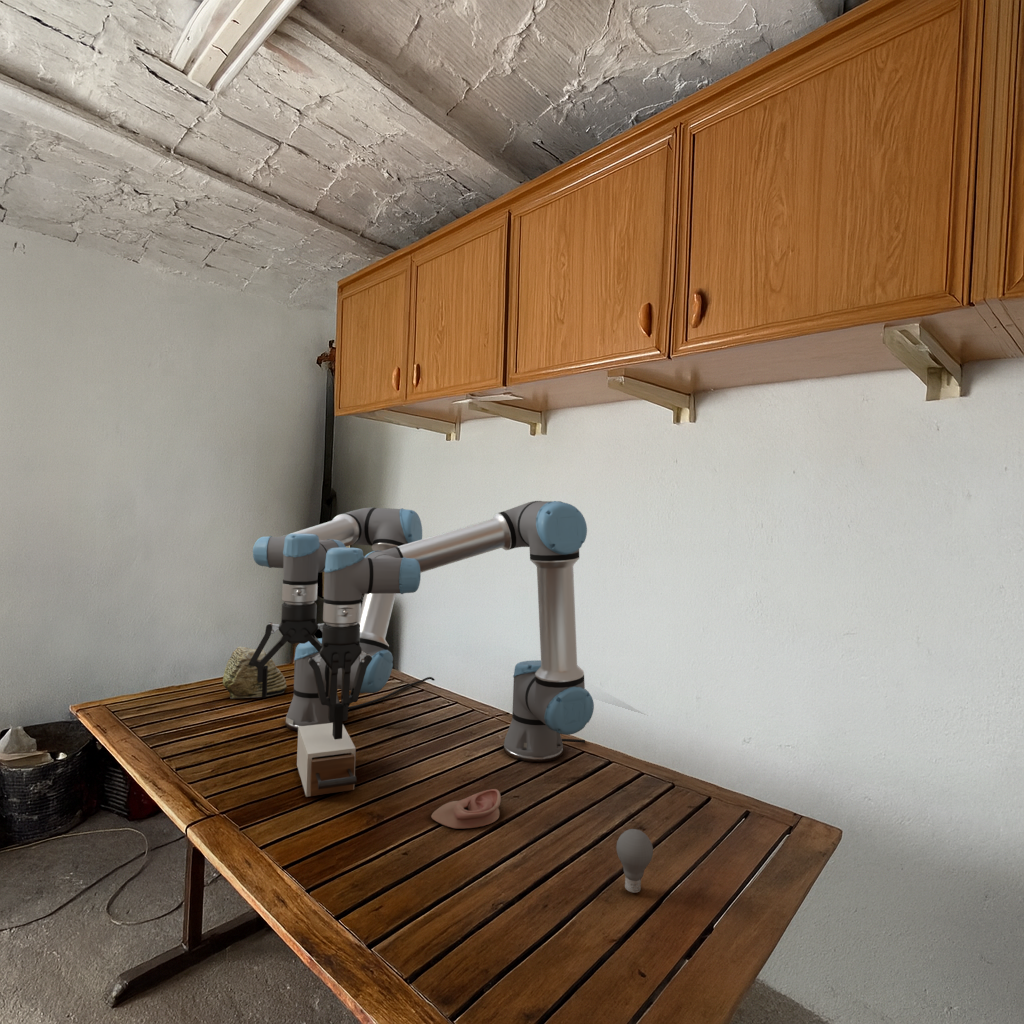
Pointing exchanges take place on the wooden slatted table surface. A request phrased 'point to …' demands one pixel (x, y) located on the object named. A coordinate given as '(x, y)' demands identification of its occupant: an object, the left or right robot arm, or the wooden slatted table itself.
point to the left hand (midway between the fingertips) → (296, 695)
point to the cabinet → (319, 748)
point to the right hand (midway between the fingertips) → (337, 736)
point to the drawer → (332, 774)
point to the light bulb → (634, 857)
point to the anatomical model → (470, 811)
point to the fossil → (250, 676)
